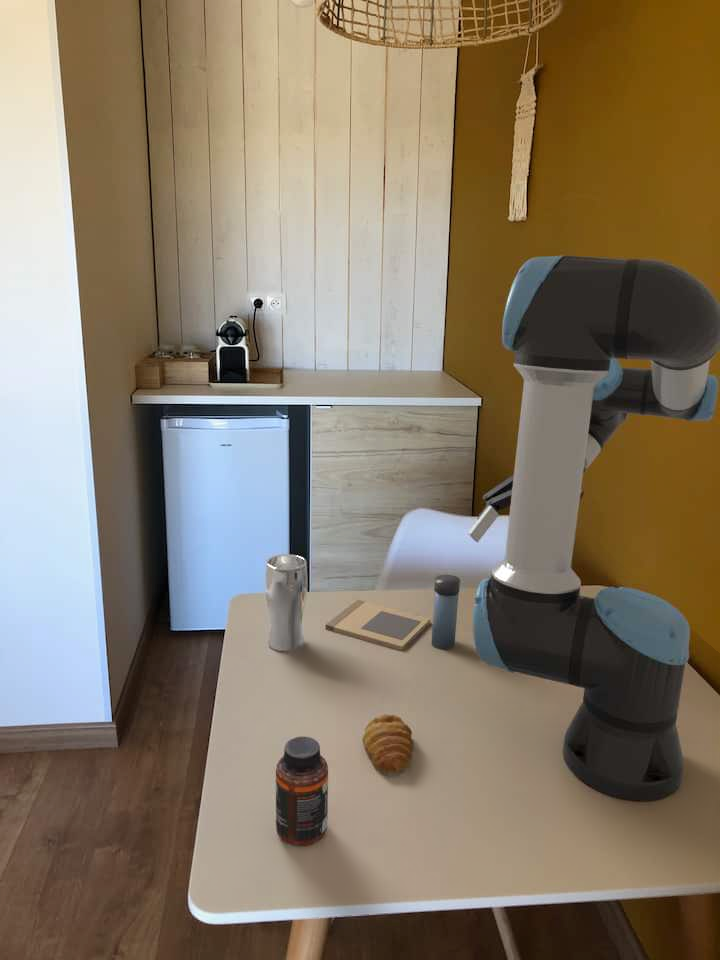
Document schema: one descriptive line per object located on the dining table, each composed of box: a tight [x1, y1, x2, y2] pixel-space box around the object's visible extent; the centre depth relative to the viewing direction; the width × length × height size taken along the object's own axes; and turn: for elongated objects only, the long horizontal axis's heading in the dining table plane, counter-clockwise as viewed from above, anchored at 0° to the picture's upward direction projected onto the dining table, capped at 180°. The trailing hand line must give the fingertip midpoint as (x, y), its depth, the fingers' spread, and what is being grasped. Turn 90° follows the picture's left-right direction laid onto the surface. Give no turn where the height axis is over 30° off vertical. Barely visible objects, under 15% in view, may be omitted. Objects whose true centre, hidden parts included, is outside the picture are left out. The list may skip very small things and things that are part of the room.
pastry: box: [361, 714, 415, 776], centre depth 103 cm, size 9×7×4 cm
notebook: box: [325, 599, 431, 651], centre depth 139 cm, size 12×15×1 cm
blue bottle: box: [431, 574, 461, 650], centre depth 132 cm, size 4×4×12 cm
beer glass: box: [264, 553, 308, 653], centre depth 130 cm, size 7×7×15 cm
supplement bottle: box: [275, 736, 329, 847], centre depth 88 cm, size 6×6×11 cm
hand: (497, 550), depth 134 cm, fingers open, 13 cm apart
